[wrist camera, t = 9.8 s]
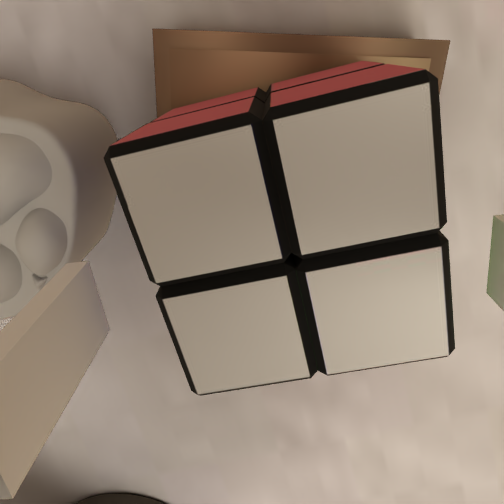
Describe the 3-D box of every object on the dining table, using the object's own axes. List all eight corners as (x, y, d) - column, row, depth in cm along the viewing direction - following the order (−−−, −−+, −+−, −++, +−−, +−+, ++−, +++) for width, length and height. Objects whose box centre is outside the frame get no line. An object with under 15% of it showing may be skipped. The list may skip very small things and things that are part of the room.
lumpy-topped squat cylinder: (131, 119, 28) (77, 146, 20) (98, 287, 33) (45, 360, 26) (-33, 65, 27) (-157, 71, 19) (-40, 246, 33) (-140, 309, 25)
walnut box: (183, 246, 32) (165, 288, 27) (177, 32, 26) (151, 28, 21) (376, 256, 32) (398, 301, 26) (412, 42, 26) (452, 40, 20)
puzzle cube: (167, 109, 22) (94, 150, 13) (367, 58, 21) (441, 64, 12) (220, 280, 26) (192, 403, 17) (391, 247, 25) (460, 361, 16)
